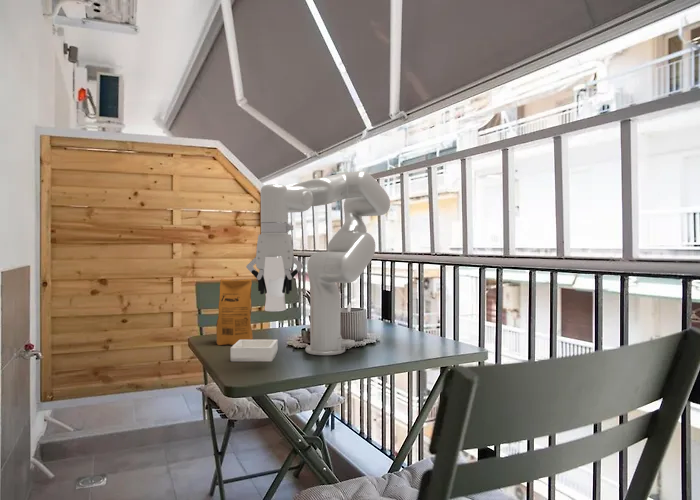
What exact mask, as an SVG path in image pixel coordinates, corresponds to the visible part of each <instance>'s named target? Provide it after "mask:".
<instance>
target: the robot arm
mask: <svg viewBox="0 0 700 500" xmlns="http://www.w3.org/2000/svg"><path fill="white" fill-rule="evenodd" d="M343 200H344V202H343V212H344V213H343V214H344V222H343V224H342V226H341V227H340V228H339V229H338V231H337V232H336V233H335V234H334V235H333V236H332V237H331V239H330V241H329V243H328V244H327V250H326V251H319V252H315V253H313V254H312V255H310V257H309V258H308V260H307V265H306V270H307V276H308V281H309V282H308V283H309V289H310V290H309V292H310V299H309V300H310V306H309V307H310V310H309V311H310V313H309V314H310V320H309V321H310V324H309V325H310V326H309V327H310V336H309V337H310V345H307V346H306V347H305V353H306V354H308V355H309V354H310V355H313V356H314V355H315V356H335V355H341V354H343V353H345V352H346V347H355V345H356V344H355V339H351V338H350V339H349V338H348V339H345V338H343V337H342V334H341V302H342V301H341V293H340V290H339V287H338V285H337V283H339V284H350V283H353V282H356V280H358V278H360V276H361V275H362V273H364V271H365V270H366V268H367V267H368V265H369V264H370V262H371V261H372V259H373V257H374V256H375V252H376V241H375V239H374V237H373V235H372V234H370V232H369V233H368V232H367V230H368V229H367V227H366V225H365V223H364V221H363V217H373V216H374V217H378V216H379V217H380V216H383V215H385V214H387V213H388V212H389V210H390V208H391V200H390V197H389V194H388V192H387V191H386V190H385V189H384V188H383V186H381V184H380V183H379V182H378V181H377V180H376V178H374V176H372V175H371V174H370V173H369V172H367V171H363V170H359V171H357V170H356V171H350V172H340V173H336V174H332V175H327V176H324V177H319V178H313V179H309V180H305V181H301V182H296V183H292V184H286V185H282V184H265V185H263V186H262V187H260V234H258V236H257V243H256V253H255V257H254V258H253V259H252V260H251V261H250V262H249V263H248V264H246V266H245V267H246V269H247V270H248V271H249V272H250V273H251V274H252V275H253V276H254V277H255V278H256V280H257V284H258V285H257V290H258V291H257V292H260V293H259V295H263V294H265V288H264V283H263V276H262V275H263V269H264V263H265V257H282V260H283V265H284V269H285V270H286V275H287V280H286V289H285V295H289V294H290V293H291V292H292V291H293V282H292V280H293V278H294V277H295V276H297V274H298V273H300V271H302V269H303V268H304V265H303V264H302V262H300V260H298V259H297V258H296V257H295V256H294V246H293V244H294V243H293V238H292V234H290V233H289V232H290V231H293V230H294V225H291V224H289V214H290V213H293V214H294V213H302V212H305V211H308V210H309V209H311V207H321V206H326V205H329V204H333V203H336V202H338V201H339V202H340V201H343ZM294 265H295V266H296V267H295V269H294V270H293V271H291V269H293V268H294ZM254 266H256V269H258V270H259V271H257V270H256V269H255V267H254Z"/></svg>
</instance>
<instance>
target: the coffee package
mask: <svg viewBox="0 0 700 500" xmlns="http://www.w3.org/2000/svg"><path fill="white" fill-rule="evenodd" d="M252 285H253V283H252V279H251V278H249V279H238V280H237V279H236V280H233V279H232V280H231V279H222V278H221V279H220V282H219V300H218V315H217V319H216V325H215V329H216V344H217V346H222V345H223V346H225V345H230V346H231V345H232V346H233V345H234V344H235V343H236V342H237V341H239V340H254V334H253V329H252V323H251V321H252V318H251V316H252V311H253V310H252V298H251V297H252V296H251V295H252Z"/></svg>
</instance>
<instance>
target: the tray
mask: <svg viewBox="0 0 700 500" xmlns="http://www.w3.org/2000/svg"><path fill="white" fill-rule="evenodd" d="M278 341H279V340H278V339H252V340H239V341H237V342H236V343H235V344H234V345H232V346H231V347H230V362H273V360H274V359H275V358H276V356H277V354H278V352H279V351H278V348H279V347H278V346H279V344H278V343H279V342H278Z"/></svg>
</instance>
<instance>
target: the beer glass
mask: <svg viewBox="0 0 700 500" xmlns="http://www.w3.org/2000/svg"><path fill="white" fill-rule="evenodd" d="M262 276H263V283H264V288H265V293H264V294H265V303H264V311H265V312H284V311H286V310H287V305H286V296H285V295H286V280H287V275H286V270H285V269H284V265H283V260H282V257H265V263H264V269H263V275H262Z"/></svg>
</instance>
